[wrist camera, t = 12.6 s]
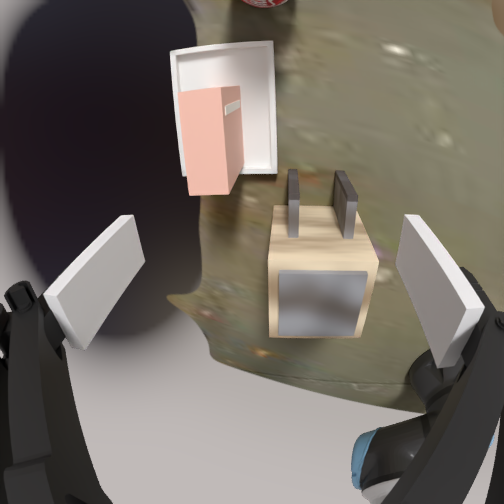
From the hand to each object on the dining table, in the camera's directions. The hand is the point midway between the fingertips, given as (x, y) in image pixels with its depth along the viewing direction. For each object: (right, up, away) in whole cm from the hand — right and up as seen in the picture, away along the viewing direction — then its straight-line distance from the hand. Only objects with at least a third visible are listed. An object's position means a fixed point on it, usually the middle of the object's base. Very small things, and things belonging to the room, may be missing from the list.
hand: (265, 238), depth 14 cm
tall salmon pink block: (-3, +13, +17) cm, 22 cm away
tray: (-3, +15, +17) cm, 23 cm away
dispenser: (+7, +3, +24) cm, 25 cm away
